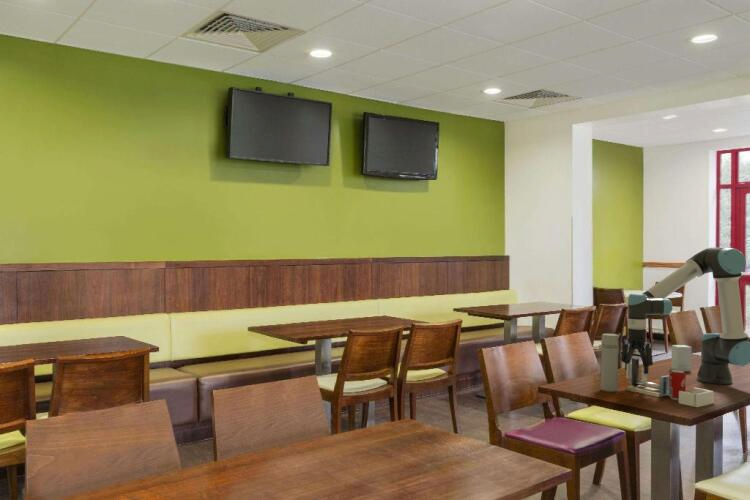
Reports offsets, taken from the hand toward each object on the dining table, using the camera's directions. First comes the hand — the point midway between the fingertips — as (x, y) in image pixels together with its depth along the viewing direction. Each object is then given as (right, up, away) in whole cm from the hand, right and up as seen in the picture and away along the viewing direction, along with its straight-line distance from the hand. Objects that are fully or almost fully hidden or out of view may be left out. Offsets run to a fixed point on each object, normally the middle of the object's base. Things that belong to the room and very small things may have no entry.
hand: (636, 379), depth 292 cm
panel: (+3, -5, -4) cm, 7 cm away
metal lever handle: (+3, -4, -5) cm, 7 cm away
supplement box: (+43, -5, +48) cm, 64 cm away
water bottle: (-14, -5, -1) cm, 15 cm away
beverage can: (+11, -5, -16) cm, 20 cm away
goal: (+15, -5, -23) cm, 28 cm away
